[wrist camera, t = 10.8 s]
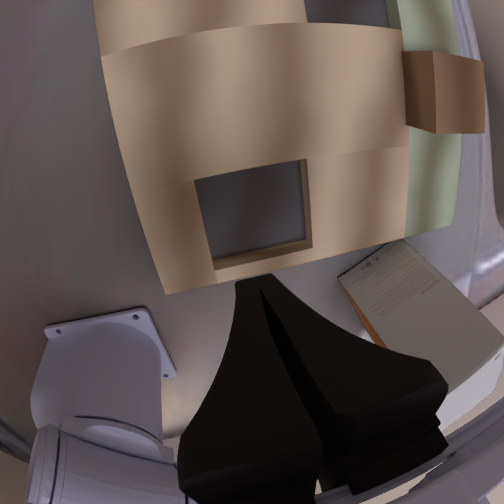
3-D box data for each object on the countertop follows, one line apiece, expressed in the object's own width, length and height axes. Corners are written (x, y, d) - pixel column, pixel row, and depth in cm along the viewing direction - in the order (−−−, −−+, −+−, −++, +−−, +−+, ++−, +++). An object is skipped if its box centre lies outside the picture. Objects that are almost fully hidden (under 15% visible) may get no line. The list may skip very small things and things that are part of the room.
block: (405, 125, 17) (435, 134, 15) (400, 51, 15) (432, 50, 12) (455, 124, 18) (484, 133, 15) (452, 59, 15) (483, 61, 13)
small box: (334, 277, 24) (425, 410, 13) (398, 233, 23) (511, 338, 12) (364, 330, 28) (432, 438, 17) (416, 293, 27) (497, 388, 16)
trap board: (166, 282, 21) (165, 295, 20) (95, -37, 10) (89, -45, 9) (441, 217, 24) (452, 224, 22) (429, -36, 12) (441, -39, 11)
